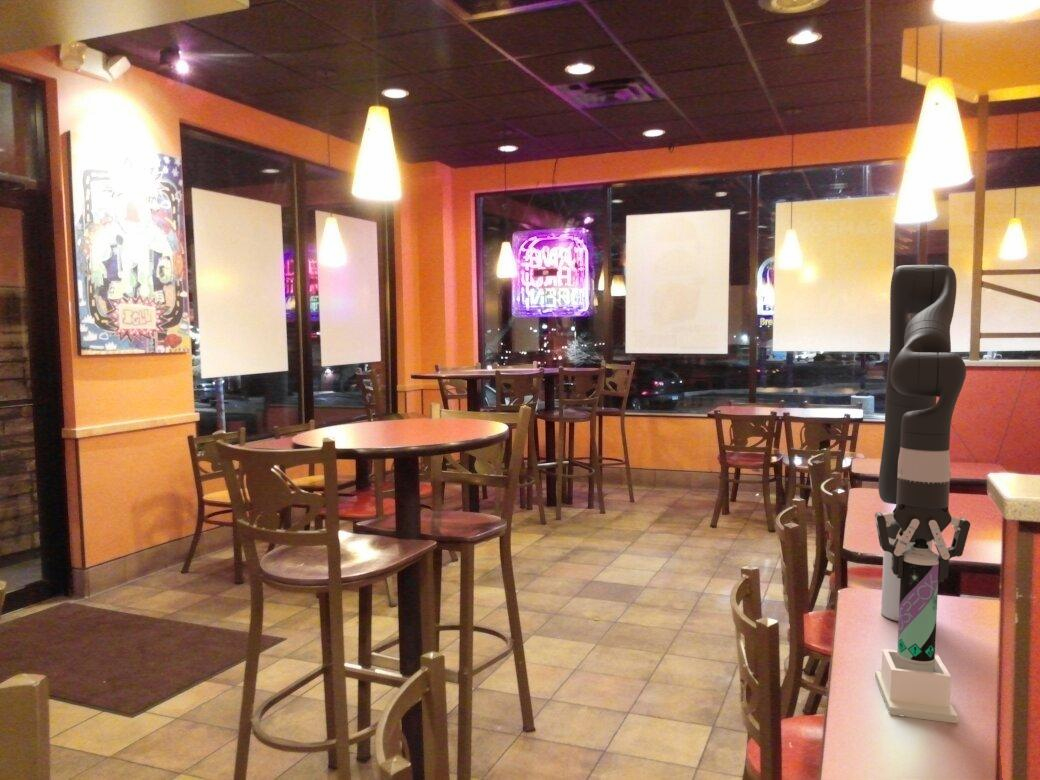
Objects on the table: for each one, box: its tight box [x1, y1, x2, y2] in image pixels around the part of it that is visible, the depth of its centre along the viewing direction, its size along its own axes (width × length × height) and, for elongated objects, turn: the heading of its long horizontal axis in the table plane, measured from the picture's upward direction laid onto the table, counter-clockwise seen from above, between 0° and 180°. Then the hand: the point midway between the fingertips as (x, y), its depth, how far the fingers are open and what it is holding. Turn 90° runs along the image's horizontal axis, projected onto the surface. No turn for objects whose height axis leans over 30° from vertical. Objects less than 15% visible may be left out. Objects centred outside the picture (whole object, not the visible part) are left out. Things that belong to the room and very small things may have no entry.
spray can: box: [896, 538, 939, 666], centre depth 127 cm, size 6×6×20 cm
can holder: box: [874, 648, 958, 724], centre depth 128 cm, size 14×10×6 cm
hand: (918, 578), depth 127 cm, fingers closed on spray can, 5 cm apart
